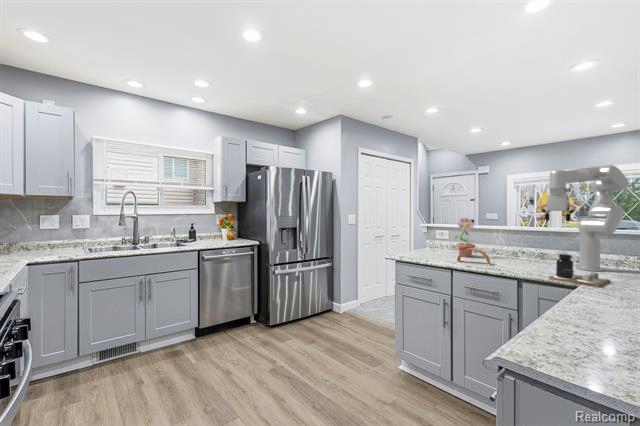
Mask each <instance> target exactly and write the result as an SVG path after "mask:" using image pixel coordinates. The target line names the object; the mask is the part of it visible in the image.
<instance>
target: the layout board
mask: <svg viewBox="0 0 640 426" xmlns="http://www.w3.org/2000/svg"><path fill="white" fill-rule="evenodd" d="M548 280H552V281H557V282H565V283H569V284H570V283H571V284H575V285H583V286H587V285H589V286H588V287H594V286H595V287H594V288H600V287H603V286H605V285H607V284H609V283H611V279H609V278H602V277H599V273H597V272H590V274H584V275H582V274H576V273H574V269H573V277H572V278H561V277H557V276H556V274H554V275H551V276H549V277H548Z"/></svg>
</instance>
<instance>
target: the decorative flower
mask: <svg viewBox="0 0 640 426" xmlns="http://www.w3.org/2000/svg"><path fill="white" fill-rule="evenodd" d="M457 226H458V227H459V228H460V229H461V233H460V235H457V236H455V237H454V239H459V240H460V241H462V242H457V243H456V244H455V247H457V248H458V255H459V254H460V253H461V252H463V251H464V250H466V249H470V248H476V245H475V244H474V243H469V238H463V235H464V234H465V235H466V236H469V233H468V232H467V231H471V230H472V229H474V227H475V225H474V222H473V220H470V219H469V218H468V217H465V218H463V217H462V218H460V219H459V222H458V223H457ZM472 254H473V250H470V251H466V252H464V253H463V254H462V256H461V258H462V257H463V258H471V257H472V256H473V255H472Z"/></svg>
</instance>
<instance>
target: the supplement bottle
mask: <svg viewBox="0 0 640 426" xmlns="http://www.w3.org/2000/svg"><path fill="white" fill-rule="evenodd" d="M558 254H559V255H558V258H557V259H556V264H555V265H556V268H555V270H556V272H555V275H556V276H557V277H561V278H572V277H573V270H574V261H573V260H572V255H571V254H568V253H558Z"/></svg>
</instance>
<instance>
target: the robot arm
mask: <svg viewBox="0 0 640 426" xmlns="http://www.w3.org/2000/svg"><path fill="white" fill-rule="evenodd" d="M587 182H592V184H591V188H592V191H593V194H594V200H593V201H592V204H591V206H590V207H589V209H588V211H587V216H588V217H586V218H585V217H584V218H582V219H580V220H579V221H578V222H577V230H578V231H579V232H578V233H579V259H578V260H579V263H578V264H579V265H576V267H575V268H576V269H578V270H582V271H591V272H604V268H602V267H601V245H602V244H601V243H602V242H601V239H600V237H598V235H605V236H606V235H607V236H609V235H610V236H611V235H613V234H614V233H615V232H616V231H617V229H618V228H619V225H620V224H621V221H622V219H623V217H624V214H625V213H624V208H623V207H622V205H620V204H615V203H614V204H613V202H614V200H613V198H612V196H611V195H610V194H609V193H608V192H622V191H625V190H627V189H628V187H629V185H630V183H629V180H628V178H627V176H625V174H624V173H623V172H622V171H621V169H619V168H618V167H617V166H615V165H612V164H609V165H608V164H607V165H600V166H599V165H598V166H589V167H588V166H587V167H582V168H574V169H569V170H564V169H561V170H560V169H559V170H558V169H557V170H551V171H550V173H549V194H548V195H547V200H546V203H545V204H543V205H541V206H539V208H540V210H541V211H542V213H543V214H544V217H545V218H544V220H545V221H546V222H548V221H550V212H565V213H566V214H565V222H570V220H571V215H572V214H573V213H574V212H575V211H576V209H577V208H578V207H577V206H576V205H575V204H571V203H570V196H569V193H568V192H570V189H568V188H567V184H575V183H587ZM570 208H571V209H570Z"/></svg>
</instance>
